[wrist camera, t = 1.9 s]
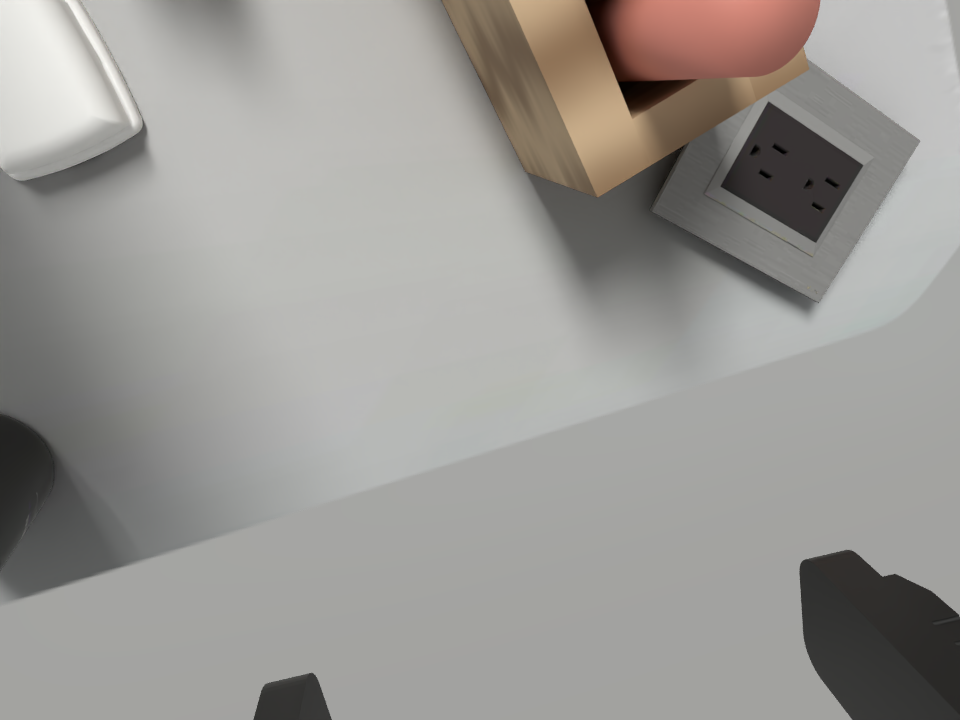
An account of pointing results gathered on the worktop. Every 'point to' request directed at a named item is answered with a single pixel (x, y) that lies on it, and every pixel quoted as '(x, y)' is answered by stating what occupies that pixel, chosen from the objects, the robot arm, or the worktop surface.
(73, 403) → the worktop surface
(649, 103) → the socket block
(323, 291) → the worktop surface
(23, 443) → the supplement bottle
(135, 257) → the worktop surface
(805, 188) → the electrical outlet
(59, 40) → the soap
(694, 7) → the salmon pink plug
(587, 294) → the worktop surface
